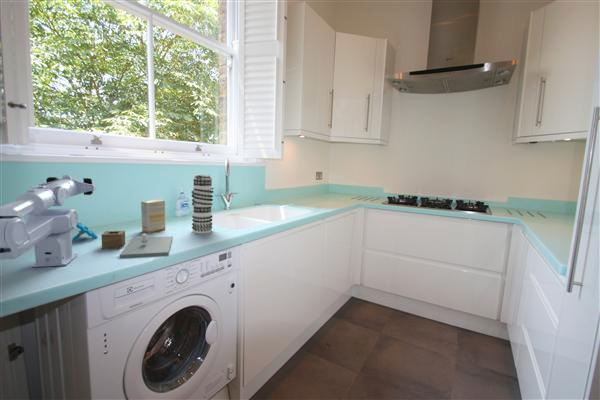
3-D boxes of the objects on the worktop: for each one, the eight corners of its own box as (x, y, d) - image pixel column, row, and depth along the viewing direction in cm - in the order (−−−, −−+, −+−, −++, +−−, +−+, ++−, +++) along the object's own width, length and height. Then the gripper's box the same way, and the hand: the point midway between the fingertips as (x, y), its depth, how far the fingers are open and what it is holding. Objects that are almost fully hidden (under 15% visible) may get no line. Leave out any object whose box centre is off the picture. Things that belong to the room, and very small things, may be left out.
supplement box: (159, 227, 131) (158, 199, 129) (165, 229, 128) (165, 200, 127) (141, 231, 124) (140, 200, 122) (147, 233, 121) (147, 202, 120)
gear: (98, 237, 106) (73, 219, 103) (84, 250, 104) (58, 232, 101) (100, 234, 116) (77, 217, 112) (87, 245, 114) (63, 229, 110)
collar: (122, 248, 101) (121, 234, 100) (102, 249, 99) (101, 234, 98) (125, 243, 106) (124, 230, 105) (106, 244, 104) (105, 231, 103)
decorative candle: (217, 231, 130) (217, 175, 126) (197, 234, 123) (197, 175, 119) (206, 227, 136) (207, 174, 132) (187, 230, 129) (187, 174, 126)
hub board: (168, 255, 97) (168, 240, 96) (119, 257, 92) (119, 242, 91) (172, 238, 115) (172, 226, 114) (132, 240, 110) (132, 227, 110)
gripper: (88, 178, 91) (101, 172, 104) (30, 176, 86) (51, 170, 99) (89, 199, 92) (102, 191, 105) (33, 199, 88) (53, 190, 100)
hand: (78, 182), depth 102 cm, fingers open, 7 cm apart
